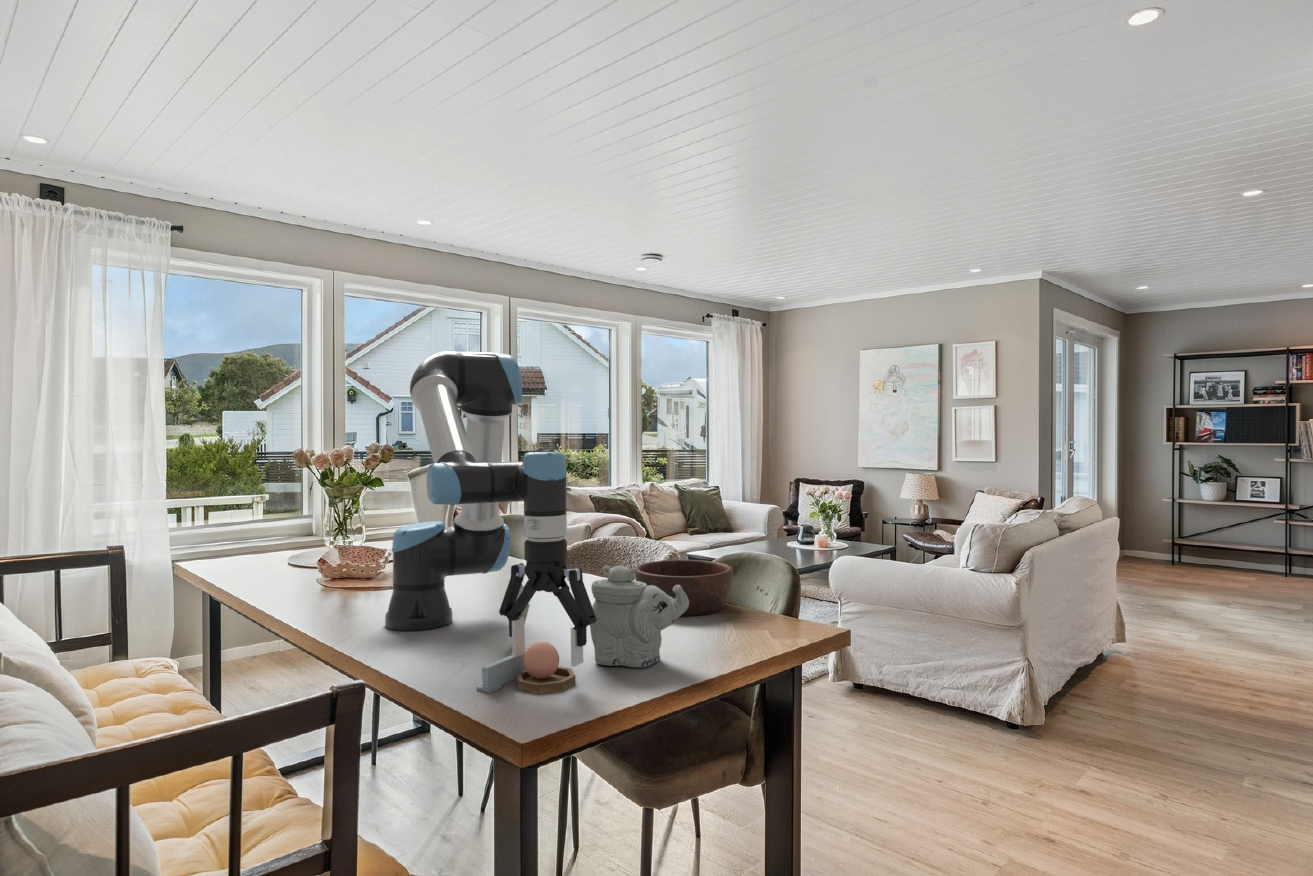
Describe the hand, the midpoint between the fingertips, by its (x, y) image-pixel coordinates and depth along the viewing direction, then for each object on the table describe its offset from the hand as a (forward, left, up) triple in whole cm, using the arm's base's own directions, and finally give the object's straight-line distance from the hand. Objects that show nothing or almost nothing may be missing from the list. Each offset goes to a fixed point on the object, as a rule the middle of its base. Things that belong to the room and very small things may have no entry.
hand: (547, 659), depth 135 cm
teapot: (+9, +18, -4) cm, 20 cm away
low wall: (-7, +1, -4) cm, 8 cm away
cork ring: (0, 0, -4) cm, 4 cm away
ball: (0, 0, -3) cm, 3 cm away
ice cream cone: (-20, +18, -4) cm, 27 cm away
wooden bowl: (-3, +64, -5) cm, 64 cm away
